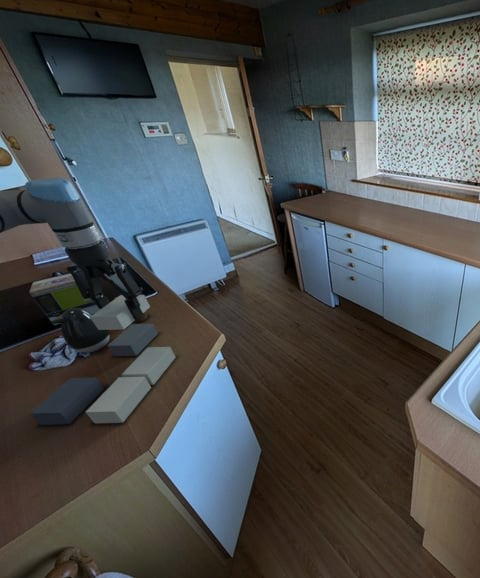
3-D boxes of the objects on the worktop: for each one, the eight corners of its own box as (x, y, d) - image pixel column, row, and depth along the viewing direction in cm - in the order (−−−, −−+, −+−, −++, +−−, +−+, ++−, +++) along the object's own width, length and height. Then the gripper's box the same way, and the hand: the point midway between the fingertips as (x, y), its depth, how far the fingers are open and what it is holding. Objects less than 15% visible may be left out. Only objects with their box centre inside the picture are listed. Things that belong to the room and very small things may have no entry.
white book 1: (98, 329, 81) (89, 316, 78) (127, 307, 90) (120, 295, 88) (124, 329, 81) (116, 316, 79) (150, 306, 90) (144, 294, 88)
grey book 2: (113, 356, 93) (107, 345, 91) (137, 334, 103) (132, 323, 100) (136, 355, 94) (130, 345, 91) (157, 333, 103) (152, 323, 101)
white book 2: (94, 423, 73) (85, 412, 71) (126, 388, 83) (118, 377, 80) (123, 422, 73) (114, 411, 71) (151, 387, 83) (144, 376, 81)
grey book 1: (40, 424, 73) (29, 413, 71) (78, 389, 82) (70, 378, 80) (69, 424, 73) (59, 412, 71) (104, 388, 82) (96, 377, 80)
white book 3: (128, 385, 84) (121, 374, 81) (153, 357, 93) (147, 347, 91) (153, 384, 84) (147, 373, 81) (175, 357, 93) (170, 346, 91)
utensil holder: (152, 315, 112) (138, 288, 106) (138, 325, 107) (123, 297, 101) (137, 314, 113) (123, 287, 107) (123, 324, 107) (108, 296, 101)
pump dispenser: (65, 354, 94) (37, 316, 86) (101, 334, 102) (77, 298, 95) (88, 361, 91) (60, 322, 84) (122, 340, 100) (100, 303, 92)
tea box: (106, 300, 121) (87, 268, 113) (106, 311, 114) (86, 278, 107) (55, 314, 112) (31, 280, 105) (53, 326, 106) (27, 292, 98)
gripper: (28, 250, 70) (79, 325, 82) (112, 249, 70) (151, 324, 82) (57, 238, 77) (101, 310, 88) (134, 238, 77) (167, 309, 89)
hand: (125, 316), depth 85 cm, fingers closed on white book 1, 7 cm apart
